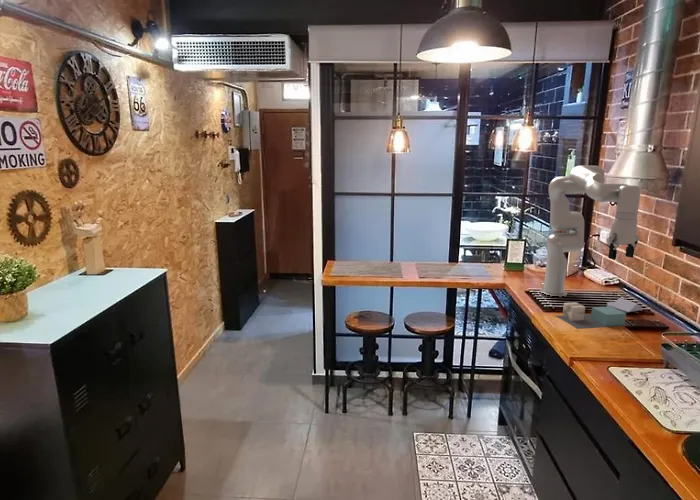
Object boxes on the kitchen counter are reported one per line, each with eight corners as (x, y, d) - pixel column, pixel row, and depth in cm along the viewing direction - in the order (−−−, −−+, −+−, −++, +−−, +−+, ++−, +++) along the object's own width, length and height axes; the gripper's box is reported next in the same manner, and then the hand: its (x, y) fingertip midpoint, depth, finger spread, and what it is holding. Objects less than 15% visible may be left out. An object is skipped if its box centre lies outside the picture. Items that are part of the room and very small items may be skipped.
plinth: (590, 318, 199) (592, 307, 198) (609, 317, 201) (610, 306, 199) (605, 326, 190) (606, 314, 189) (624, 324, 192) (626, 313, 191)
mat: (555, 317, 202) (555, 315, 202) (604, 315, 206) (604, 313, 206) (577, 331, 188) (577, 328, 187) (629, 327, 191) (629, 325, 191)
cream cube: (562, 315, 202) (563, 303, 200) (574, 315, 203) (576, 302, 201) (571, 320, 196) (572, 307, 195) (583, 320, 197) (585, 306, 196)
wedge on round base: (641, 316, 205) (615, 307, 216) (643, 302, 203) (617, 293, 215) (627, 319, 201) (601, 309, 213) (629, 304, 200) (603, 296, 212)
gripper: (632, 214, 190) (627, 254, 194) (602, 216, 184) (597, 257, 188) (650, 216, 183) (644, 258, 187) (619, 218, 177) (613, 261, 181)
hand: (620, 257), depth 187 cm, fingers open, 9 cm apart
